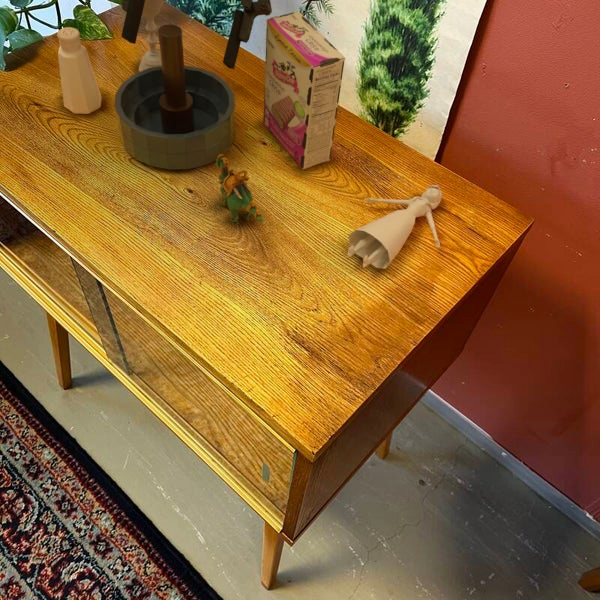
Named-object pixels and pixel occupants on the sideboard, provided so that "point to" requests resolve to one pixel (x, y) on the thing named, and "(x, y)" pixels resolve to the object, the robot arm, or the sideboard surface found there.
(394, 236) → the woman figurine
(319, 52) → the candy bar box
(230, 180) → the figurine
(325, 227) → the sideboard surface
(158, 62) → the chalice
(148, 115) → the bowl
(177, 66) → the pestle
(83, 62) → the pepper shaker
